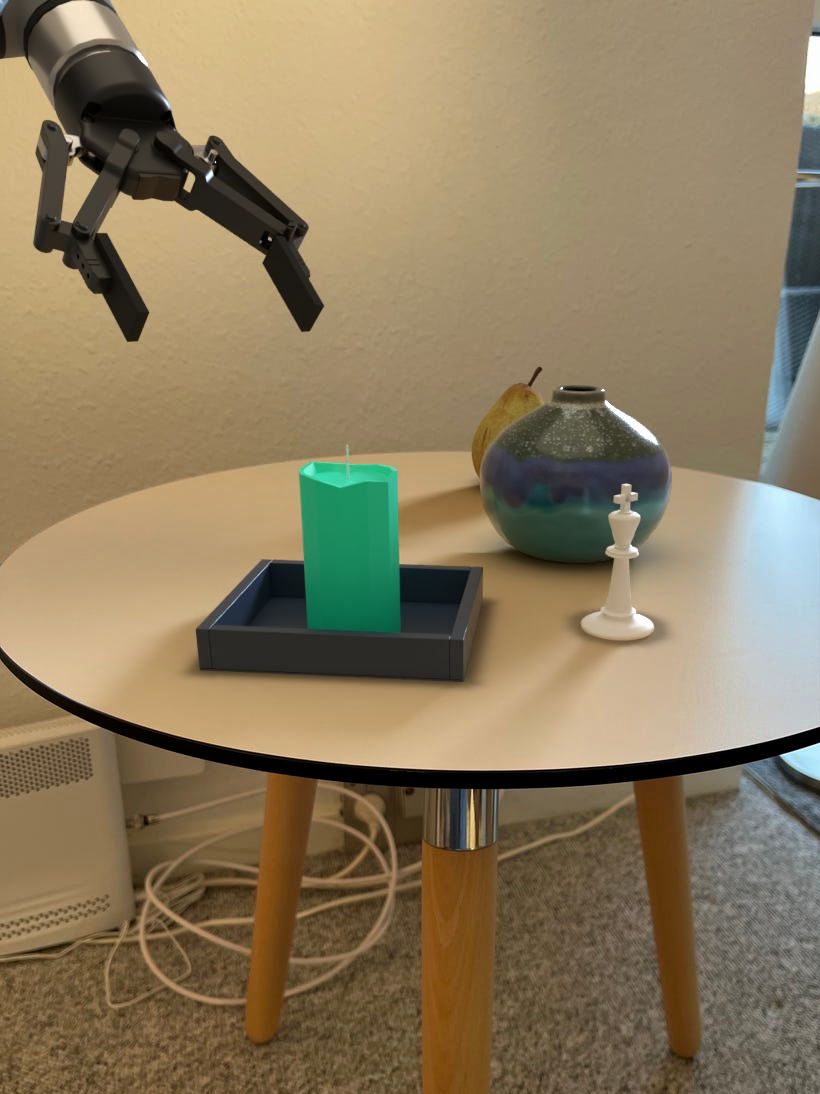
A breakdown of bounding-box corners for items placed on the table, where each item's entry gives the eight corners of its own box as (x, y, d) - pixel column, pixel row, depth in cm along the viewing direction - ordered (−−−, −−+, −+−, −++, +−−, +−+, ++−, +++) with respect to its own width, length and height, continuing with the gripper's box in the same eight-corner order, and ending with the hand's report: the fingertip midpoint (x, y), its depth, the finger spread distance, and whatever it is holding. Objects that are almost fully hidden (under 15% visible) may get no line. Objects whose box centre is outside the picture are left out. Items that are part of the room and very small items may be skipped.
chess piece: (563, 630, 67) (570, 482, 64) (617, 615, 70) (626, 472, 66) (616, 653, 64) (626, 498, 60) (670, 636, 67) (683, 487, 63)
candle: (287, 636, 64) (275, 447, 60) (346, 609, 69) (339, 432, 65) (362, 656, 61) (355, 459, 57) (419, 626, 66) (417, 442, 62)
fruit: (463, 493, 102) (463, 371, 98) (482, 474, 111) (484, 360, 106) (548, 499, 101) (552, 375, 96) (561, 479, 109) (566, 363, 104)
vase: (705, 563, 81) (722, 394, 76) (547, 594, 74) (554, 410, 69) (590, 519, 94) (598, 371, 89) (444, 542, 86) (444, 382, 81)
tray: (199, 677, 60) (194, 628, 59) (264, 600, 72) (261, 558, 71) (463, 689, 59) (463, 639, 57) (482, 608, 71) (483, 566, 70)
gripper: (235, 146, 84) (352, 349, 80) (-89, 119, 68) (37, 372, 64) (267, 68, 79) (395, 280, 75) (-76, 18, 62) (63, 286, 58)
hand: (231, 323), depth 69 cm, fingers open, 13 cm apart
